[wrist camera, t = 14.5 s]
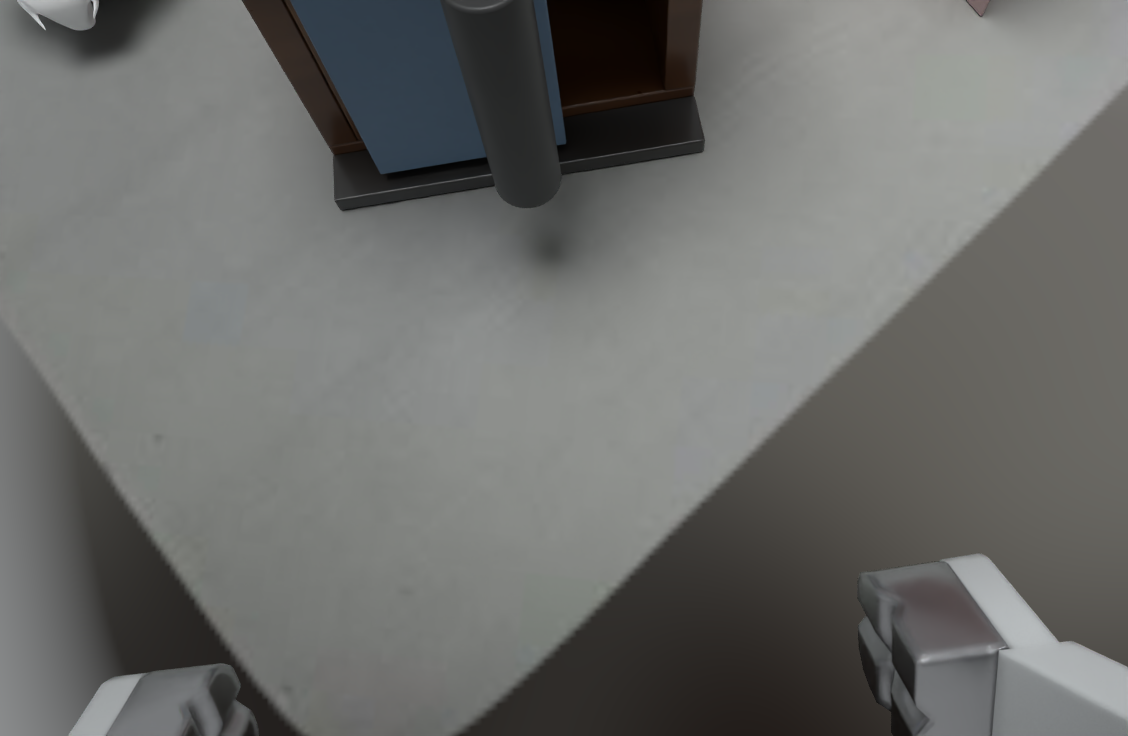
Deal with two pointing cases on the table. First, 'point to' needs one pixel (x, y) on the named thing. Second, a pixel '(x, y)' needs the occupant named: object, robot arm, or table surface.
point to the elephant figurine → (63, 12)
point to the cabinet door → (448, 85)
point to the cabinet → (586, 84)
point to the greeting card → (979, 5)
